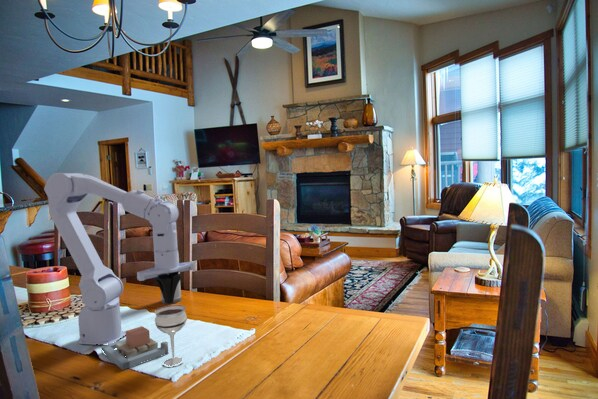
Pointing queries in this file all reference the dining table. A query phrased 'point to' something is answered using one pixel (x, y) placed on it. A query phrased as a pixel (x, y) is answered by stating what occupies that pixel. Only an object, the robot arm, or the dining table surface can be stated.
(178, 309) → the wineglass
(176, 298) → the travel mug
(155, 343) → the pallet
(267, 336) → the dining table surface
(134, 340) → the salmon pink block
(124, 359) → the dock
